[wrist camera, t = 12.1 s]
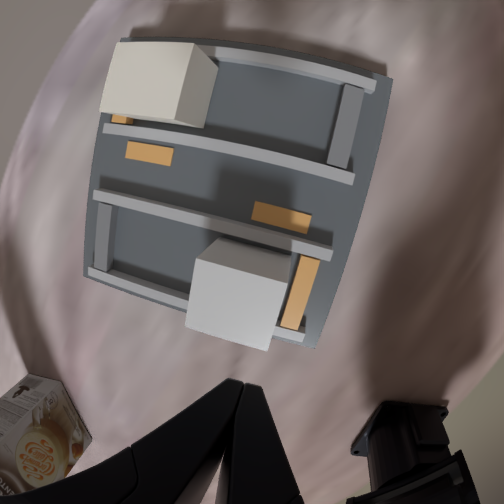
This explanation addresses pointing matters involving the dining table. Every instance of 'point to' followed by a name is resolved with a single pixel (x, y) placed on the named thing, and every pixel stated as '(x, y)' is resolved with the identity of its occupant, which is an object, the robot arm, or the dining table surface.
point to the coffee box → (38, 435)
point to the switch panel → (240, 179)
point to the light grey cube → (238, 292)
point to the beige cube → (160, 82)
